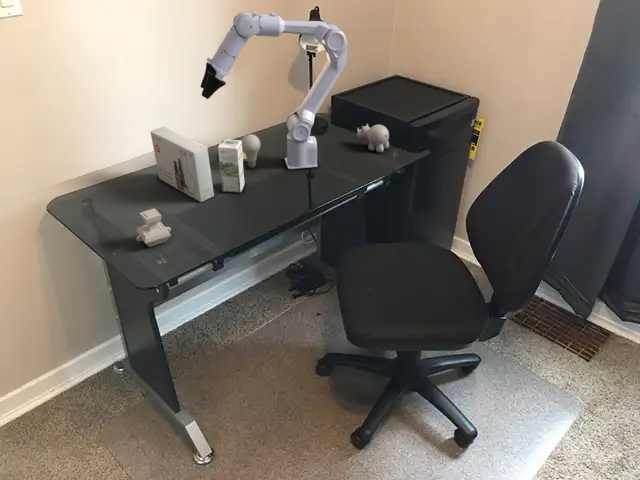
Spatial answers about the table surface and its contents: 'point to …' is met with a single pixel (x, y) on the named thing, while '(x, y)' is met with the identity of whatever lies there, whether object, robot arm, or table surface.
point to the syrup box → (231, 165)
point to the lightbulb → (251, 148)
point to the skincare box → (183, 163)
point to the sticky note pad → (244, 157)
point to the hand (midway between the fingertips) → (204, 92)
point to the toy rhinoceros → (375, 137)
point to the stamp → (152, 228)
